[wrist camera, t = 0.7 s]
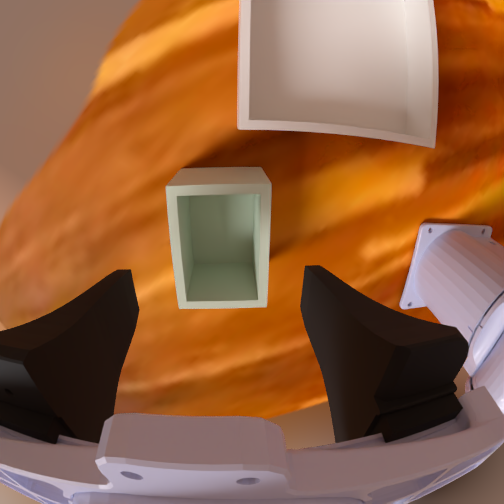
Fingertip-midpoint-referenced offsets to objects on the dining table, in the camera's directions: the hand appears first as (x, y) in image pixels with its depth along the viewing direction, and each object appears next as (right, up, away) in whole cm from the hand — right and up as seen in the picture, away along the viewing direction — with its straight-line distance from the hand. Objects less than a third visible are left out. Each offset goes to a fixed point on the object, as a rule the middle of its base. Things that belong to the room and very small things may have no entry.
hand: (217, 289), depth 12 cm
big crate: (+7, +15, +3) cm, 16 cm away
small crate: (-1, +4, +8) cm, 9 cm away
